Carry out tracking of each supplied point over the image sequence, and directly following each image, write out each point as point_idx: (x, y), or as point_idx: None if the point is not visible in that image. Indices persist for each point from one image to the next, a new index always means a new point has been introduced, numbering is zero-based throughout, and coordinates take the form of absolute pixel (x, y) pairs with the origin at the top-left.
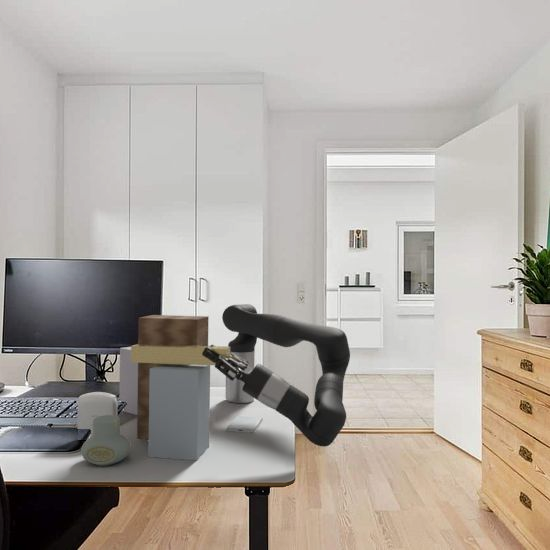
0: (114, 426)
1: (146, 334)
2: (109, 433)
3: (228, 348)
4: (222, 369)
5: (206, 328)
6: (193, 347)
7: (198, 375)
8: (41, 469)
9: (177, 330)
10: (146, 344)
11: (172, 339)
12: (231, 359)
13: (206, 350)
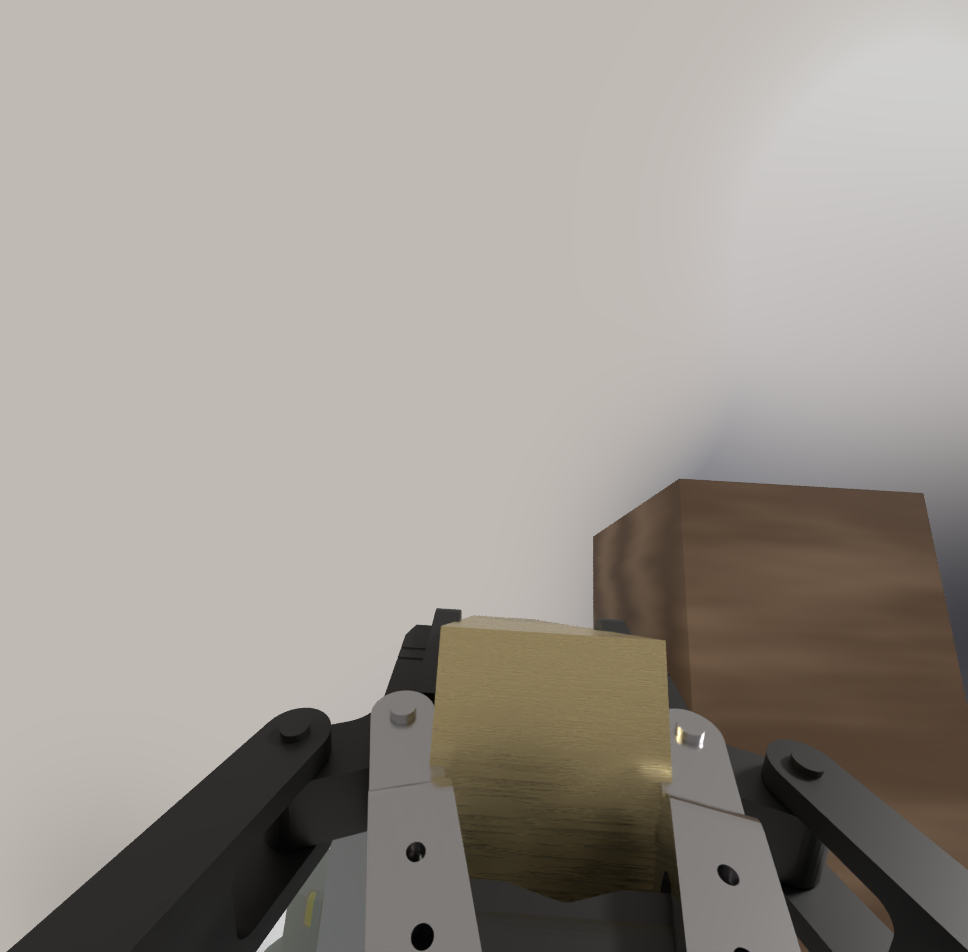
0: (302, 918)
1: (601, 595)
2: (287, 938)
3: (563, 644)
4: (239, 907)
5: (892, 567)
6: (484, 620)
7: (336, 848)
8: (275, 930)
9: (639, 563)
10: (527, 619)
11: (632, 611)
12: (399, 813)
13: (416, 631)
